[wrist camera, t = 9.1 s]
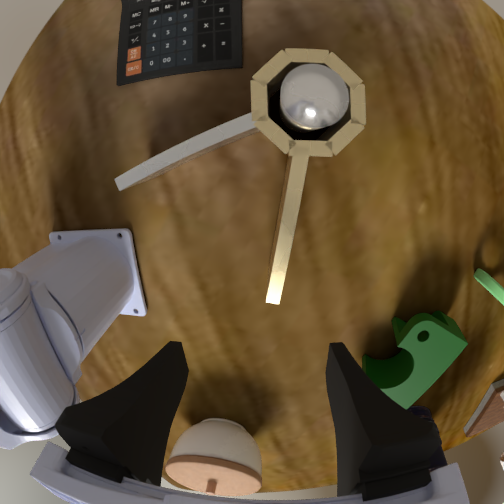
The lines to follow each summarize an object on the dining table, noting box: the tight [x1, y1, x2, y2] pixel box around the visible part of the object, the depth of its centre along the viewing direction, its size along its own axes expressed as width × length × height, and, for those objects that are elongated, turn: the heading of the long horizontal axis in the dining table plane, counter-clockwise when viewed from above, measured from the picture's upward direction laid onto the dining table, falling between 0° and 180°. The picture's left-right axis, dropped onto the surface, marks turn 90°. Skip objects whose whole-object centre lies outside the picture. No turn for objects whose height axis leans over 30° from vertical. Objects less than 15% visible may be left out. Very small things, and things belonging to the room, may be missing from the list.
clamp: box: [362, 311, 468, 410], centre depth 21 cm, size 11×6×8 cm, turn 150°
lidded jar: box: [165, 418, 262, 496], centre depth 26 cm, size 11×11×9 cm
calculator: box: [117, 0, 242, 86], centre depth 14 cm, size 9×12×3 cm
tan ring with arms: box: [114, 48, 366, 304], centre depth 17 cm, size 14×14×5 cm
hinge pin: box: [279, 64, 349, 133], centre depth 14 cm, size 3×3×7 cm
